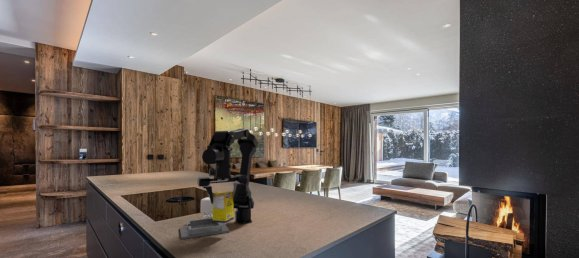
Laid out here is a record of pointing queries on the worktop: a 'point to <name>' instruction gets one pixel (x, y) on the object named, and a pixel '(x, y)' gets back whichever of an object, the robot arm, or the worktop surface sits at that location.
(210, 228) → the plate
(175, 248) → the worktop surface
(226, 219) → the supplement box
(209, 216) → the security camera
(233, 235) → the worktop surface
